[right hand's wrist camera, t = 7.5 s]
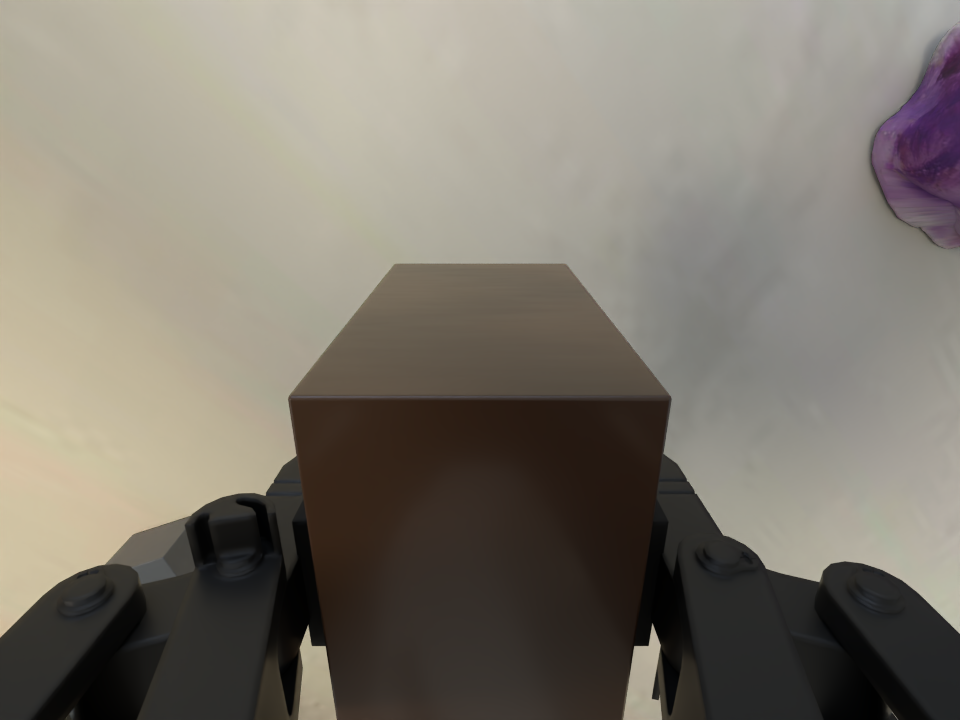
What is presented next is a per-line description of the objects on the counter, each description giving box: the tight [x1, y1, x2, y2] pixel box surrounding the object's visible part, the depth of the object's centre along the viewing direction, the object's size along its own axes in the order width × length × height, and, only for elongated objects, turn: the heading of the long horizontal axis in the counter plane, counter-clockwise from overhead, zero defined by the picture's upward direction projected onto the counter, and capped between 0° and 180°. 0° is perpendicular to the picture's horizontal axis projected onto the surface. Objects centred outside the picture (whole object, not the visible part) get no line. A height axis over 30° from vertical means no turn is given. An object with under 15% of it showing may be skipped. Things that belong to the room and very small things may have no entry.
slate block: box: [105, 516, 195, 584], centre depth 33 cm, size 5×5×4 cm
